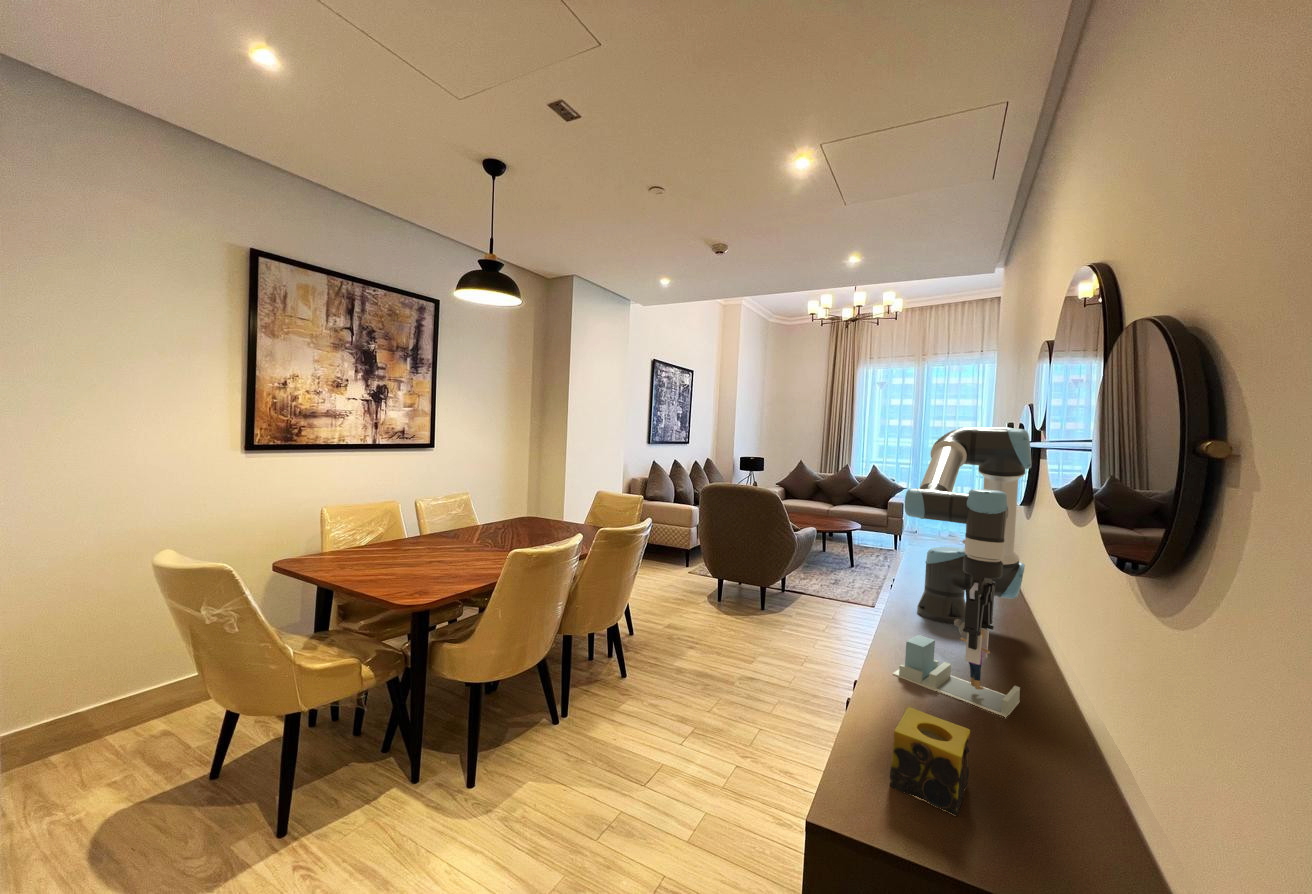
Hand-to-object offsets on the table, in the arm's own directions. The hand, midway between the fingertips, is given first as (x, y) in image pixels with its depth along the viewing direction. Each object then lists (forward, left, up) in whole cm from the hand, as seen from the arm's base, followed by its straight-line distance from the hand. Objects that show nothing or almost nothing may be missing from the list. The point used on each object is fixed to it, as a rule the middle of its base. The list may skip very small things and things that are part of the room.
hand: (976, 658), depth 115 cm
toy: (+1, 0, -7) cm, 7 cm away
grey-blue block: (0, -12, -8) cm, 14 cm away
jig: (0, -4, -9) cm, 10 cm away
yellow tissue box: (+41, +5, -9) cm, 43 cm away
